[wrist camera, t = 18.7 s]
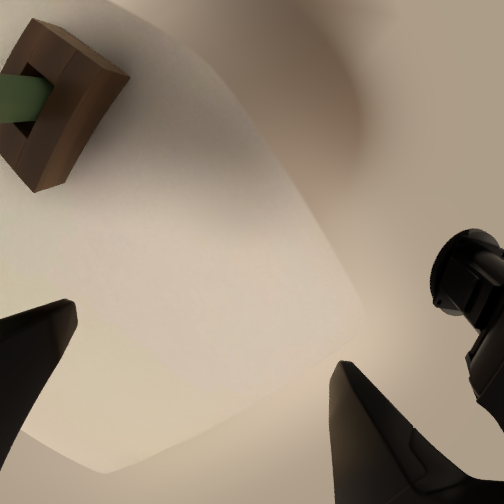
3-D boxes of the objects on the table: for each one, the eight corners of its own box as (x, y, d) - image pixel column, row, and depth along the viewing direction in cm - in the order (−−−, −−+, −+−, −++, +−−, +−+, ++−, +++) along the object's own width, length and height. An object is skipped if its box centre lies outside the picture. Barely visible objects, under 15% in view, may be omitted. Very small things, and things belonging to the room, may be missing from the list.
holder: (131, 77, 18) (103, 68, 14) (64, 183, 21) (33, 193, 17) (60, 27, 16) (32, 17, 12) (7, 122, 19) (-22, 125, 15)
